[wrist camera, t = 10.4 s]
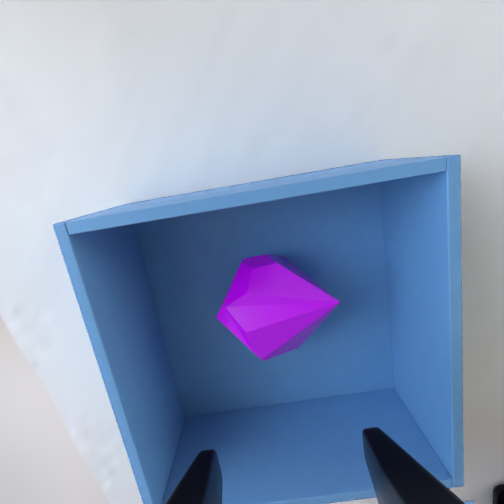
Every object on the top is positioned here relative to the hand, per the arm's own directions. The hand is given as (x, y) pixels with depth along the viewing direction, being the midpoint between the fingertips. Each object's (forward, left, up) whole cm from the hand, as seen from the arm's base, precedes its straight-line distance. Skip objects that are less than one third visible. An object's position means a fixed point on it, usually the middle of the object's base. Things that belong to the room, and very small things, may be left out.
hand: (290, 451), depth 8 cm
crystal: (0, 0, -12) cm, 12 cm away
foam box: (0, +1, -12) cm, 12 cm away
